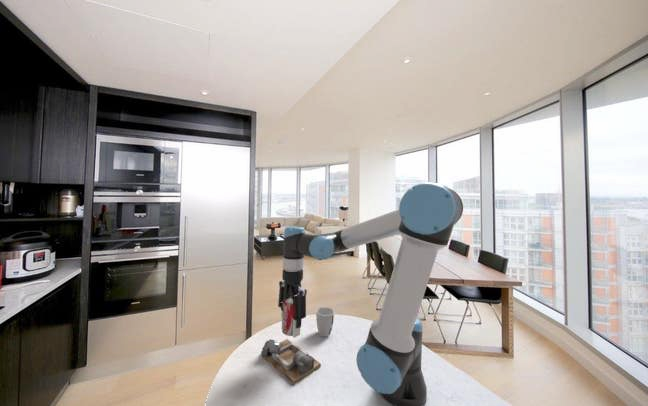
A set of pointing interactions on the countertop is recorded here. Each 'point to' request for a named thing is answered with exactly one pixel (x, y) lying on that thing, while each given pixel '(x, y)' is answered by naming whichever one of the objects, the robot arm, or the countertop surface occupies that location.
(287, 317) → the beverage can
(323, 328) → the cup
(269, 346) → the shaft
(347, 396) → the countertop surface
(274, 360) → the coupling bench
